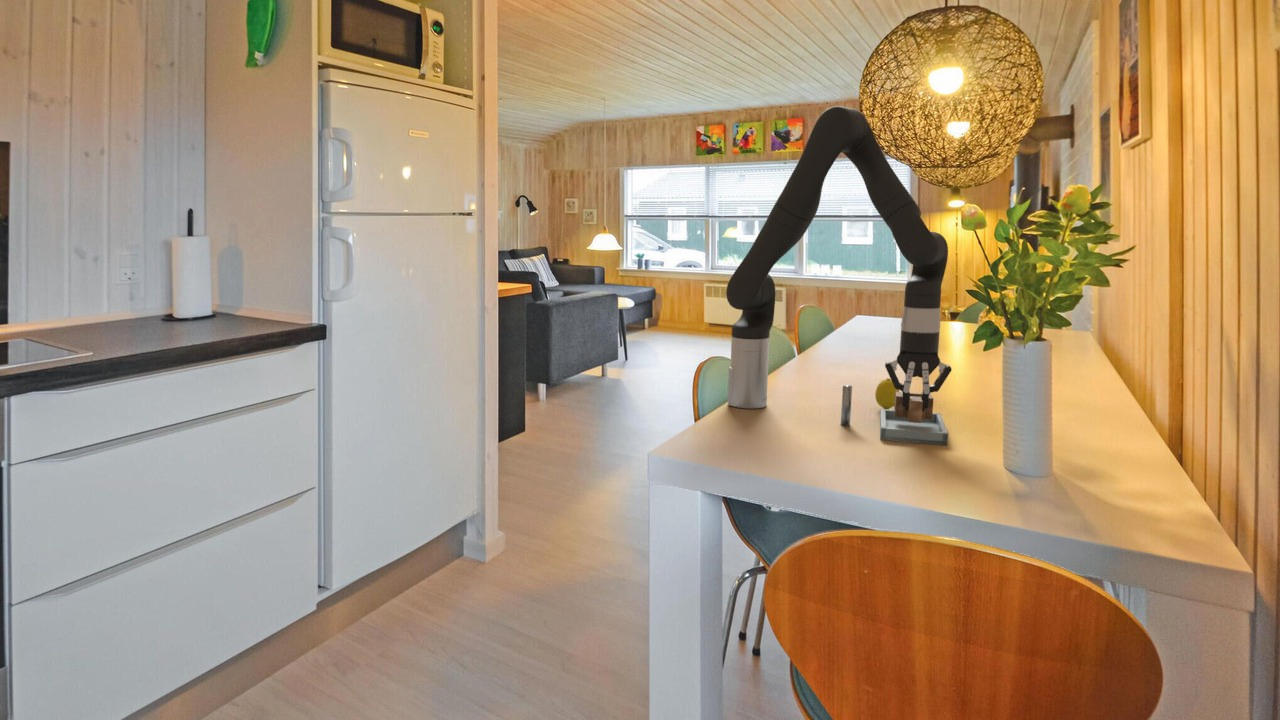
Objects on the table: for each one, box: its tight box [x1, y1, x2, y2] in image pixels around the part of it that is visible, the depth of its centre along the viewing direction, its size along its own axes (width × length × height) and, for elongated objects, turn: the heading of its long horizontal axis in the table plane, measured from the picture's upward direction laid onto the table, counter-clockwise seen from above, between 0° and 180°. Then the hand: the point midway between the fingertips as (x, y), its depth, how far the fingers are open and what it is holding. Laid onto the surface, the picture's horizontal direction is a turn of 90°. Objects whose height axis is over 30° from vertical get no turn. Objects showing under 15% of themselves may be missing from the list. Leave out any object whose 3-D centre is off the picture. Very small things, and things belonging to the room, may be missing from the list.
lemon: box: [875, 377, 900, 410], centre depth 180 cm, size 6×6×8 cm
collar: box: [893, 391, 934, 423], centre depth 159 cm, size 8×14×4 cm, turn 163°
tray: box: [879, 408, 949, 446], centre depth 161 cm, size 13×18×2 cm
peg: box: [840, 384, 853, 427], centre depth 166 cm, size 2×2×9 cm
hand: (914, 409), depth 157 cm, fingers closed on collar, 2 cm apart
